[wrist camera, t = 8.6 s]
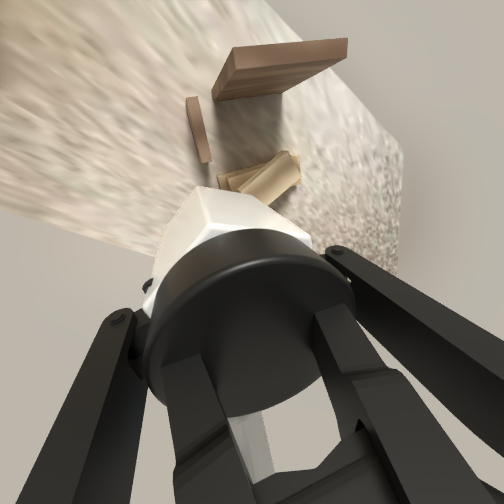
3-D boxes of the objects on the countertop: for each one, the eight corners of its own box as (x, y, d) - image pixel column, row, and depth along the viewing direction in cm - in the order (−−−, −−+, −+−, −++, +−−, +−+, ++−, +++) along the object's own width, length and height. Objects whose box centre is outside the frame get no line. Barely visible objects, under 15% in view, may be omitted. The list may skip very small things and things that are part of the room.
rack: (285, 144, 39) (341, 143, 25) (199, 160, 35) (209, 169, 22) (281, 81, 34) (348, 37, 20) (182, 93, 31) (182, 51, 17)
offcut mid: (294, 181, 40) (300, 183, 38) (233, 203, 39) (236, 206, 37) (290, 155, 38) (296, 155, 36) (225, 176, 36) (227, 178, 34)
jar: (223, 291, 20) (261, 433, 10) (145, 250, 16) (79, 417, 6) (282, 223, 19) (397, 310, 9) (213, 160, 15) (273, 183, 5)
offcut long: (295, 180, 43) (301, 182, 41) (223, 200, 40) (225, 203, 38) (292, 154, 40) (299, 155, 38) (216, 175, 38) (218, 176, 36)
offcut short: (295, 174, 37) (301, 176, 35) (253, 210, 38) (257, 214, 36) (281, 150, 35) (288, 151, 32) (237, 189, 35) (240, 192, 33)
